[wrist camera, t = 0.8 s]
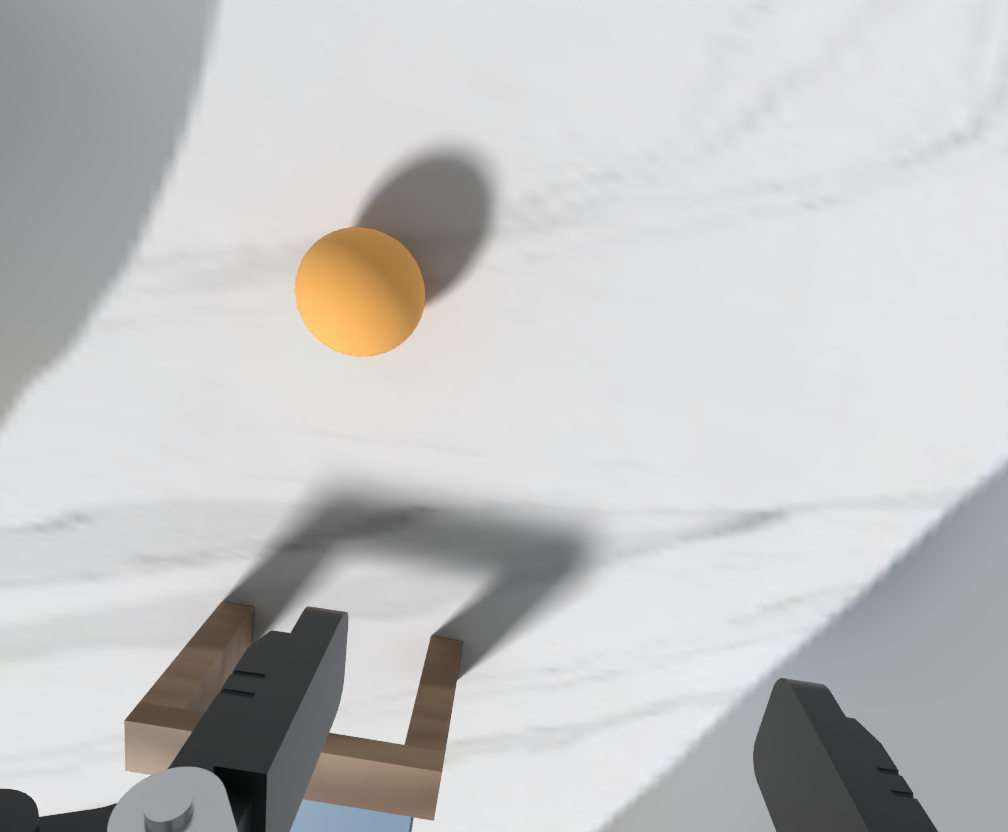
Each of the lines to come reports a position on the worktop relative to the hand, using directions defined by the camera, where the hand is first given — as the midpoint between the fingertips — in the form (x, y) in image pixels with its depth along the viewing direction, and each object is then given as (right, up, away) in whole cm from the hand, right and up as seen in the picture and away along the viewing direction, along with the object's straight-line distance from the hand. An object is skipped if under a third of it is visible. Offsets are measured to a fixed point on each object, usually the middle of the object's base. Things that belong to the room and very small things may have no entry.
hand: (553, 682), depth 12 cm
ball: (-8, +11, +18) cm, 23 cm away
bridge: (-11, -9, +27) cm, 31 cm away
